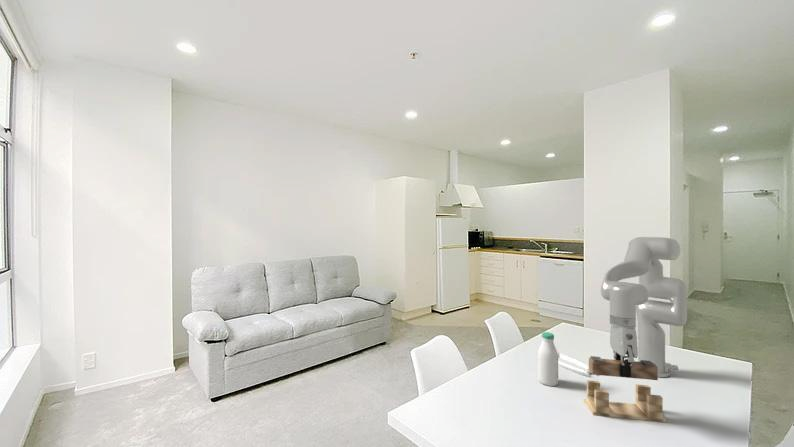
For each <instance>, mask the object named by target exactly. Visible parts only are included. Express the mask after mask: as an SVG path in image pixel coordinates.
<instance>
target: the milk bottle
mask: <svg viewBox="0 0 794 447" xmlns="http://www.w3.org/2000/svg"><path fill="white" fill-rule="evenodd" d="M554 338H555V335H554V333H552V332H548V331H544V332H542V333H541V339H542V340H541V344H540V346H538V347H539V348H538V351H537V381H538V382H539V383H540V384H542V385H543V386H549V387H555V386H557V385H558V384H559V365H558V361H559V357H558V353H559V352H558V351H557V348H556V346H555V342H554V340H555V339H554ZM557 352H558V353H557Z"/></svg>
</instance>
